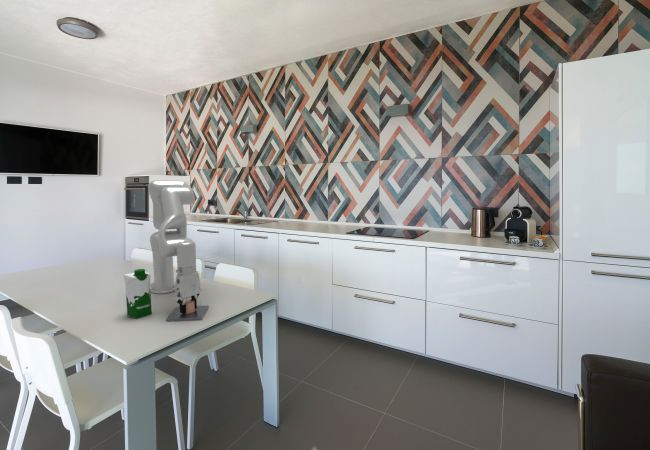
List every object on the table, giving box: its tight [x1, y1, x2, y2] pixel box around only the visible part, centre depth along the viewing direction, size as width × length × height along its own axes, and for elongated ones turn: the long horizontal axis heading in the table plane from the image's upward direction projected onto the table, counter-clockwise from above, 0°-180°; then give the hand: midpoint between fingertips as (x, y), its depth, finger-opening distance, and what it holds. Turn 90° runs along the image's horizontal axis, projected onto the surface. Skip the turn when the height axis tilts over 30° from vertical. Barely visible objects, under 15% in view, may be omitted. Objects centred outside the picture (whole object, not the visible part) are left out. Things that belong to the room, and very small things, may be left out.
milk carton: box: [123, 268, 153, 320], centre depth 144 cm, size 9×9×20 cm
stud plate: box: [165, 304, 210, 322], centre depth 145 cm, size 14×14×4 cm
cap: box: [185, 299, 195, 314], centre depth 145 cm, size 5×5×4 cm
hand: (188, 310), depth 145 cm, fingers closed on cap, 5 cm apart
